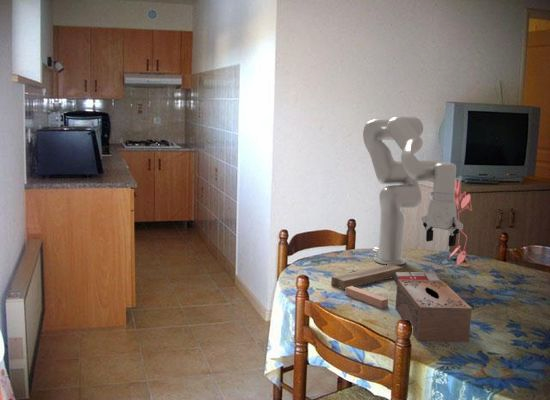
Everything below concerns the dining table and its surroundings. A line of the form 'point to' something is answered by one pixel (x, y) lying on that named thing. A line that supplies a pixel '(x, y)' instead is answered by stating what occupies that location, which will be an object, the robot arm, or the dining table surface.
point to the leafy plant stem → (464, 204)
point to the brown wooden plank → (365, 276)
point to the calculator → (415, 276)
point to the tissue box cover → (433, 310)
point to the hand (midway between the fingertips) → (440, 243)
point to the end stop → (367, 296)
